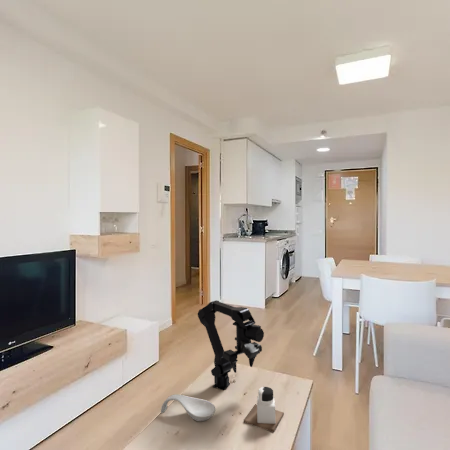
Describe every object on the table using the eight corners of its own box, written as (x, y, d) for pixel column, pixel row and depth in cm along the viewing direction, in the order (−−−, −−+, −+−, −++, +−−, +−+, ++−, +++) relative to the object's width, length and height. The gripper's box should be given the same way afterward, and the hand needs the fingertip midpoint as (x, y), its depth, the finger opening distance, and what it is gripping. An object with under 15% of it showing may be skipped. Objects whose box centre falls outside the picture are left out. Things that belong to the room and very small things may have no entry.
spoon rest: (218, 410, 138) (218, 394, 138) (210, 428, 126) (210, 410, 126) (168, 403, 144) (167, 387, 143) (156, 419, 132) (155, 402, 132)
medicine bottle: (274, 413, 133) (274, 384, 133) (275, 424, 126) (275, 394, 126) (257, 412, 134) (256, 384, 133) (257, 423, 127) (256, 393, 126)
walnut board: (243, 422, 129) (243, 419, 129) (255, 406, 140) (255, 404, 140) (274, 432, 123) (274, 429, 123) (283, 414, 133) (283, 412, 133)
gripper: (236, 347, 134) (237, 383, 134) (269, 336, 144) (270, 370, 145) (222, 338, 143) (222, 372, 144) (254, 329, 154) (254, 361, 154)
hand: (243, 369), depth 146 cm, fingers open, 9 cm apart
